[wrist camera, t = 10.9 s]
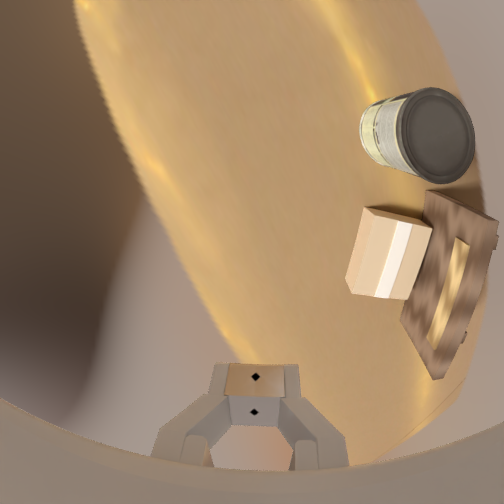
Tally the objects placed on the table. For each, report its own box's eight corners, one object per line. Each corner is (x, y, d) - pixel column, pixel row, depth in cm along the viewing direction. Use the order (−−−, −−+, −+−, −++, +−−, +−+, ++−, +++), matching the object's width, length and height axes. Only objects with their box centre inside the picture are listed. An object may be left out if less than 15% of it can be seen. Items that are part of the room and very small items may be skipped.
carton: (363, 206, 41) (374, 215, 36) (417, 218, 41) (433, 229, 36) (344, 277, 45) (352, 294, 40) (396, 284, 45) (407, 300, 40)
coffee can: (389, 85, 33) (438, 69, 20) (431, 138, 35) (488, 146, 22) (343, 128, 36) (379, 126, 23) (389, 181, 39) (437, 204, 26)
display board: (424, 189, 38) (486, 219, 24) (458, 194, 38) (521, 224, 23) (397, 320, 48) (430, 380, 33) (429, 317, 47) (466, 372, 32)
